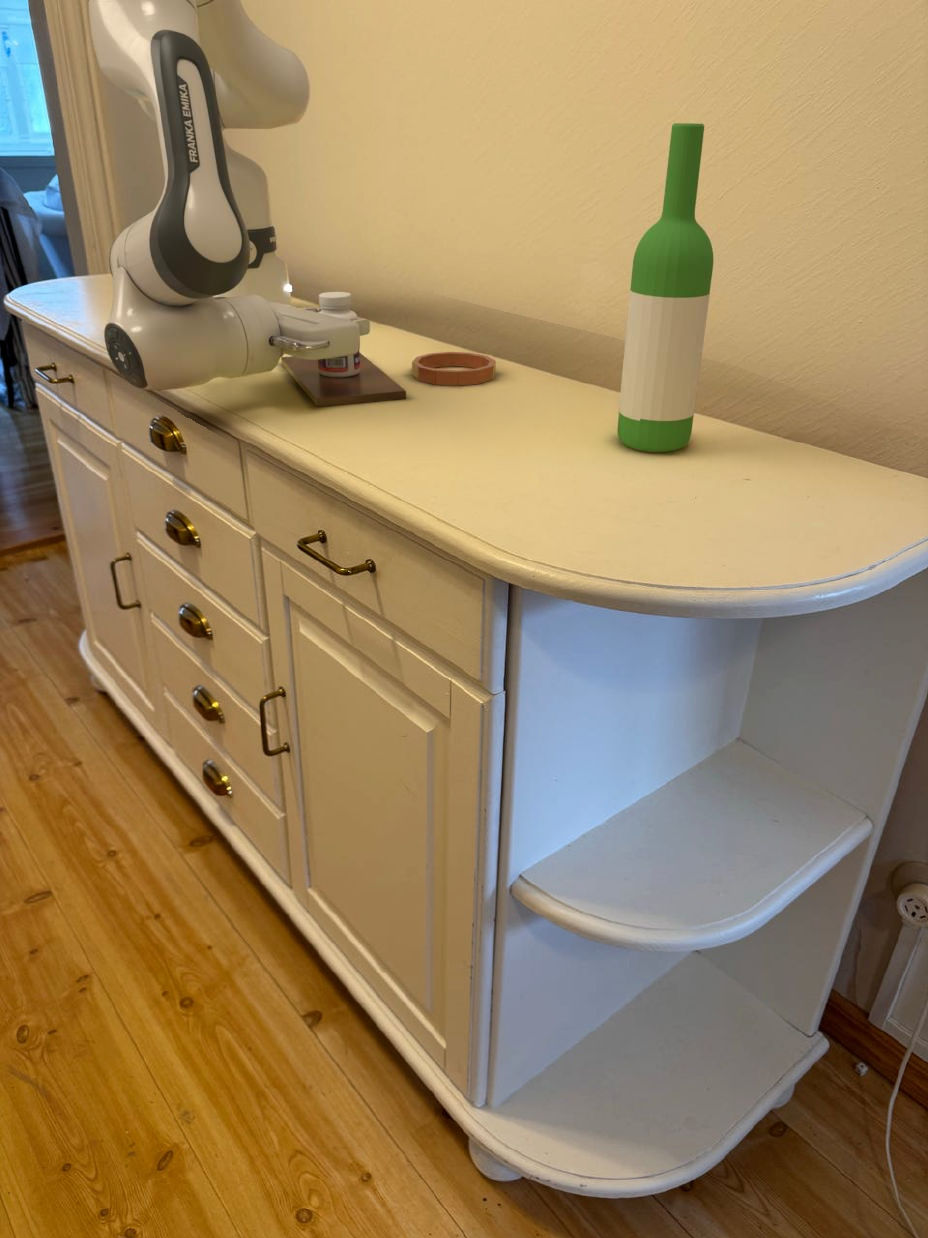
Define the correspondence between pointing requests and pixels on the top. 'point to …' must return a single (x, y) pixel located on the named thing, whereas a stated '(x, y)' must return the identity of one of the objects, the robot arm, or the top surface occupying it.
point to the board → (343, 383)
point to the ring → (428, 374)
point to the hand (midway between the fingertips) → (342, 319)
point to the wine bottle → (667, 310)
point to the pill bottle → (340, 308)
